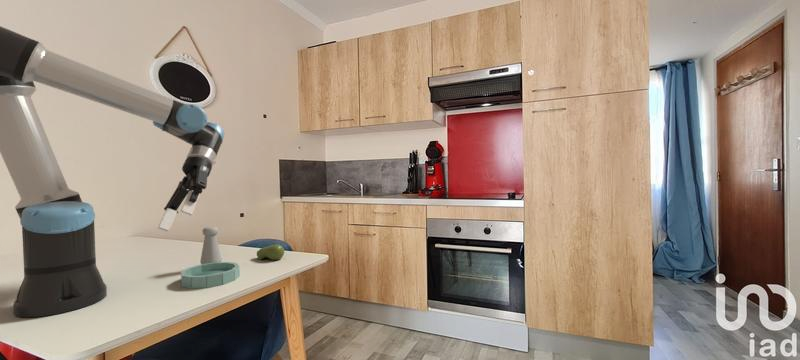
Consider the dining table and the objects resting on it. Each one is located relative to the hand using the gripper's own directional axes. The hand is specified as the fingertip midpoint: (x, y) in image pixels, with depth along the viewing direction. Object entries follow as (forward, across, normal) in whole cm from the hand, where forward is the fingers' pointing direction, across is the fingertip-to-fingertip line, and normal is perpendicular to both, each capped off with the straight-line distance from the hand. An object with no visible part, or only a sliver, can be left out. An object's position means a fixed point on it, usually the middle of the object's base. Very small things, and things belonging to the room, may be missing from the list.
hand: (174, 221), depth 92 cm
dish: (+13, 0, -14) cm, 19 cm away
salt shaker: (+6, +10, -18) cm, 21 cm away
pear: (0, +3, -33) cm, 33 cm away
